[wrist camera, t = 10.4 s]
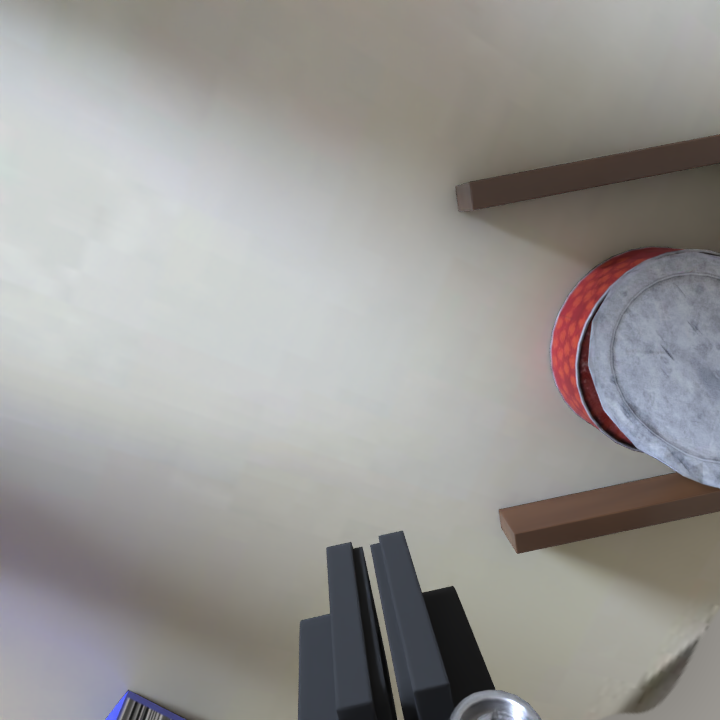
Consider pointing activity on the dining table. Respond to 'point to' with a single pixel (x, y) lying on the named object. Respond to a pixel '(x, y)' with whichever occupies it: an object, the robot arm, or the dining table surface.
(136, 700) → the cereal box
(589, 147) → the dining table surface
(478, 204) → the bay
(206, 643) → the dining table surface
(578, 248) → the dining table surface
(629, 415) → the canned food
